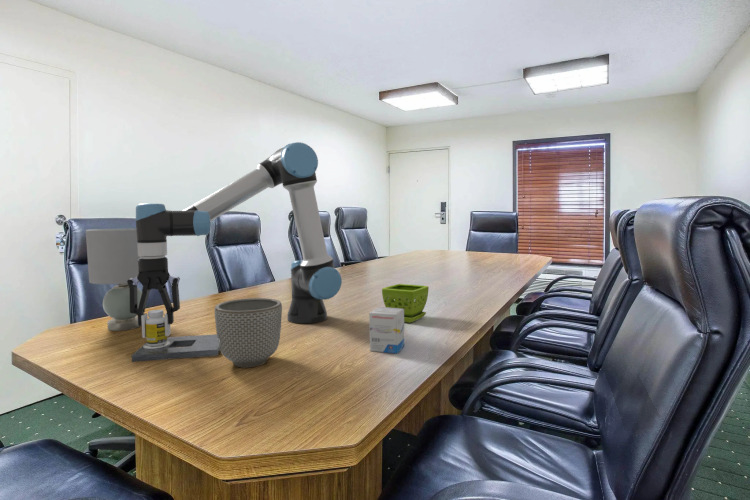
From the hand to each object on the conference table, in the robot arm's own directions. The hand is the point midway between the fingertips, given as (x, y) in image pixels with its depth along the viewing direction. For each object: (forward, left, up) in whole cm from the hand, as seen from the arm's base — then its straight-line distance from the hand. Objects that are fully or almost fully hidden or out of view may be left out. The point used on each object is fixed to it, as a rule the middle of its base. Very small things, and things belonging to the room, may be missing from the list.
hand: (156, 335), depth 118 cm
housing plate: (-7, 0, -5) cm, 8 cm away
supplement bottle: (0, 0, -3) cm, 3 cm away
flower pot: (-82, -20, -5) cm, 84 cm away
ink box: (-67, +12, -5) cm, 68 cm away
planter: (-28, +15, -5) cm, 32 cm away
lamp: (+20, -32, -5) cm, 38 cm away
